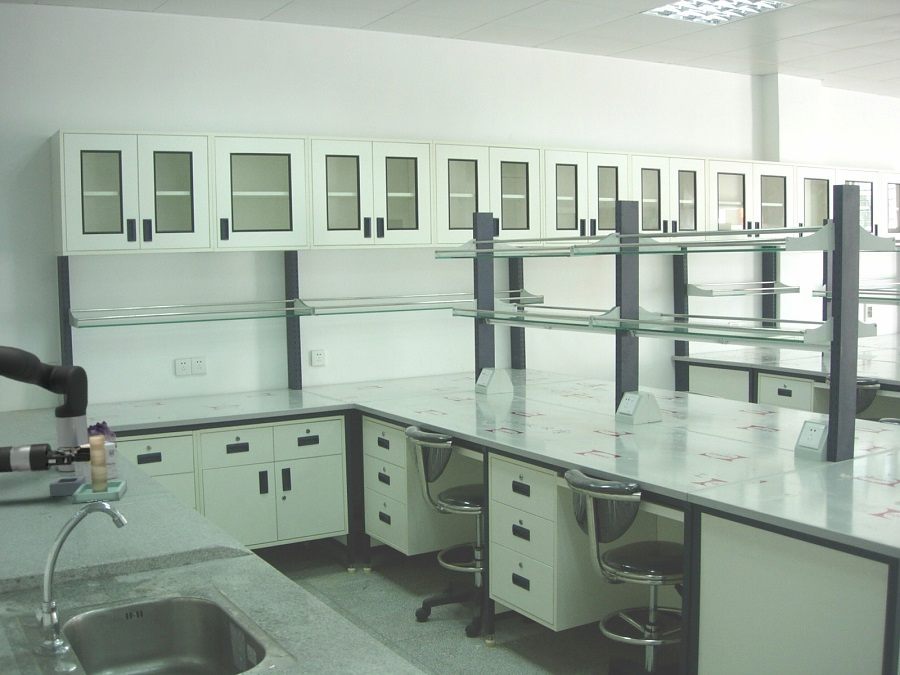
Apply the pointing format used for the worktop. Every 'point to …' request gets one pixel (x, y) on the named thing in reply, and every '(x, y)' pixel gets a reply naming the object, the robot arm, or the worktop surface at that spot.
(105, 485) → the dowel
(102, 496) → the tray
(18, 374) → the robot arm
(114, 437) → the geode
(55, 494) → the socket block
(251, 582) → the worktop surface
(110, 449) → the light bulb box
